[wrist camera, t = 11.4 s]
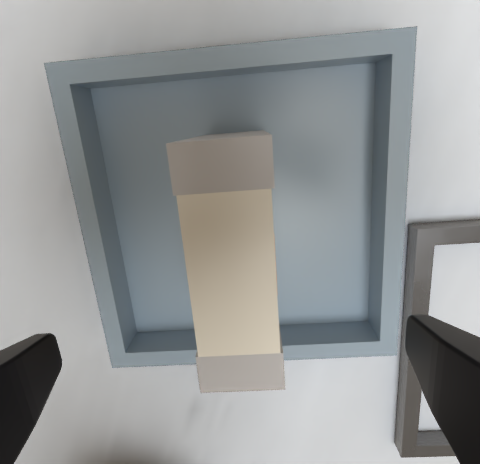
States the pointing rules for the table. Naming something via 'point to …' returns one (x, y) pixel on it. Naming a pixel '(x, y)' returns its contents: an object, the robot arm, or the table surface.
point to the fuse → (230, 257)
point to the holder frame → (418, 303)
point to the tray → (283, 195)
